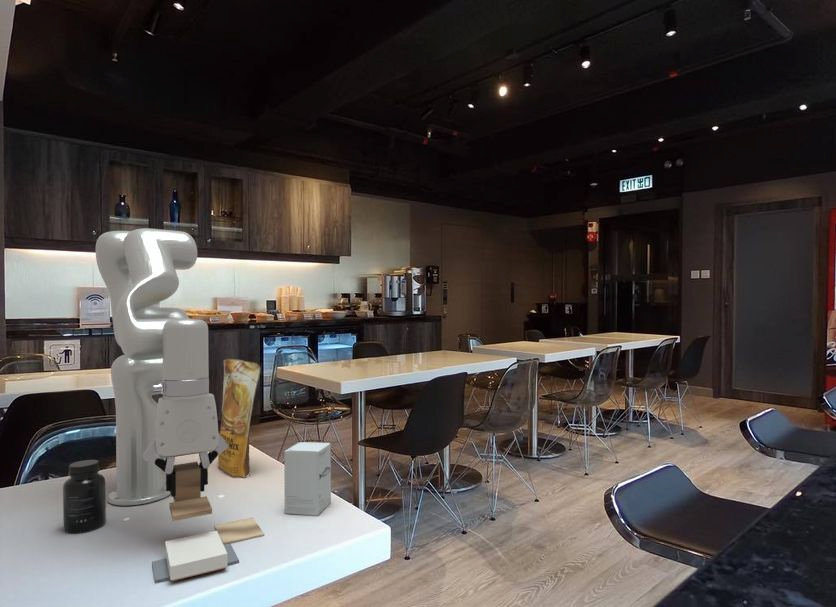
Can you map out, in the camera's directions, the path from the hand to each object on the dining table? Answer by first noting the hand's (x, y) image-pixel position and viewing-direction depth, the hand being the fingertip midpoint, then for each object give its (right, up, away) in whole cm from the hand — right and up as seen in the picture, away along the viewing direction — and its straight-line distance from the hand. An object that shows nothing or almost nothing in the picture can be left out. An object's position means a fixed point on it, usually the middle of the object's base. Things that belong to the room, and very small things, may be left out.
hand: (187, 490), depth 93 cm
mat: (+5, -8, -9) cm, 14 cm away
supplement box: (+19, -9, +14) cm, 25 cm away
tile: (+3, -7, -5) cm, 9 cm away
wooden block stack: (+1, -2, -2) cm, 3 cm away
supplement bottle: (-22, -9, +6) cm, 25 cm away
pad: (+8, -8, +3) cm, 12 cm away
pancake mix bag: (-5, -9, +41) cm, 42 cm away
